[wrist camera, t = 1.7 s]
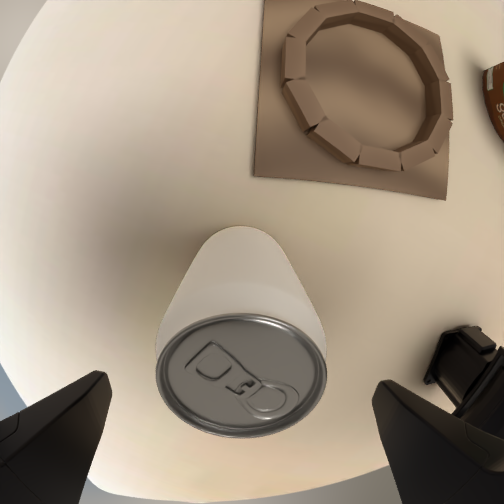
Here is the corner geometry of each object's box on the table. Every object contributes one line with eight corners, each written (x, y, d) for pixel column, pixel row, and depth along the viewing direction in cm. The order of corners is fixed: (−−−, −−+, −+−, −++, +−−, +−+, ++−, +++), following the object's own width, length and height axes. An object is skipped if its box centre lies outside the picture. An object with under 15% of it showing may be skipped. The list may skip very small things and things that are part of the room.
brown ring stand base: (438, 199, 19) (461, 203, 16) (253, 176, 18) (255, 176, 15) (433, 39, 15) (451, 28, 12) (264, -6, 14) (268, -28, 11)
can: (244, 327, 21) (248, 461, 10) (176, 273, 20) (111, 384, 8) (305, 266, 20) (375, 373, 8) (237, 204, 19) (230, 251, 7)
